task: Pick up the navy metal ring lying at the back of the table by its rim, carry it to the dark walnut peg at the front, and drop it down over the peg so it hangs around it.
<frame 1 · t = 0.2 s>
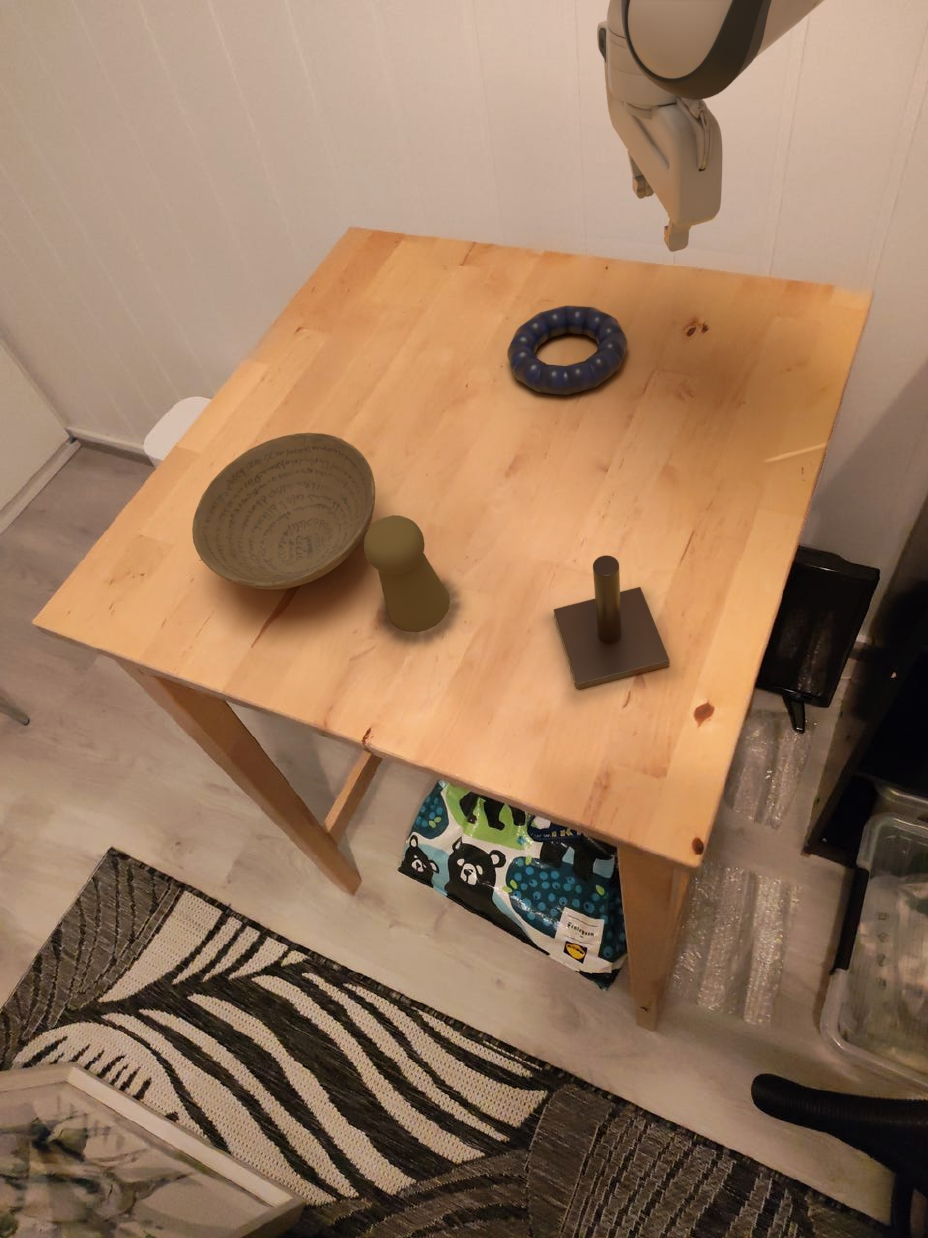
hand: (659, 218, 76), 16 cm above the table, tool pointing down, fingers open, 8 cm apart
ring: (566, 348, 90), point 1 cm above the table
bowl: (309, 553, 83), on the table
post: (609, 639, 71), on the table
olive game pawn: (418, 605, 77), on the table
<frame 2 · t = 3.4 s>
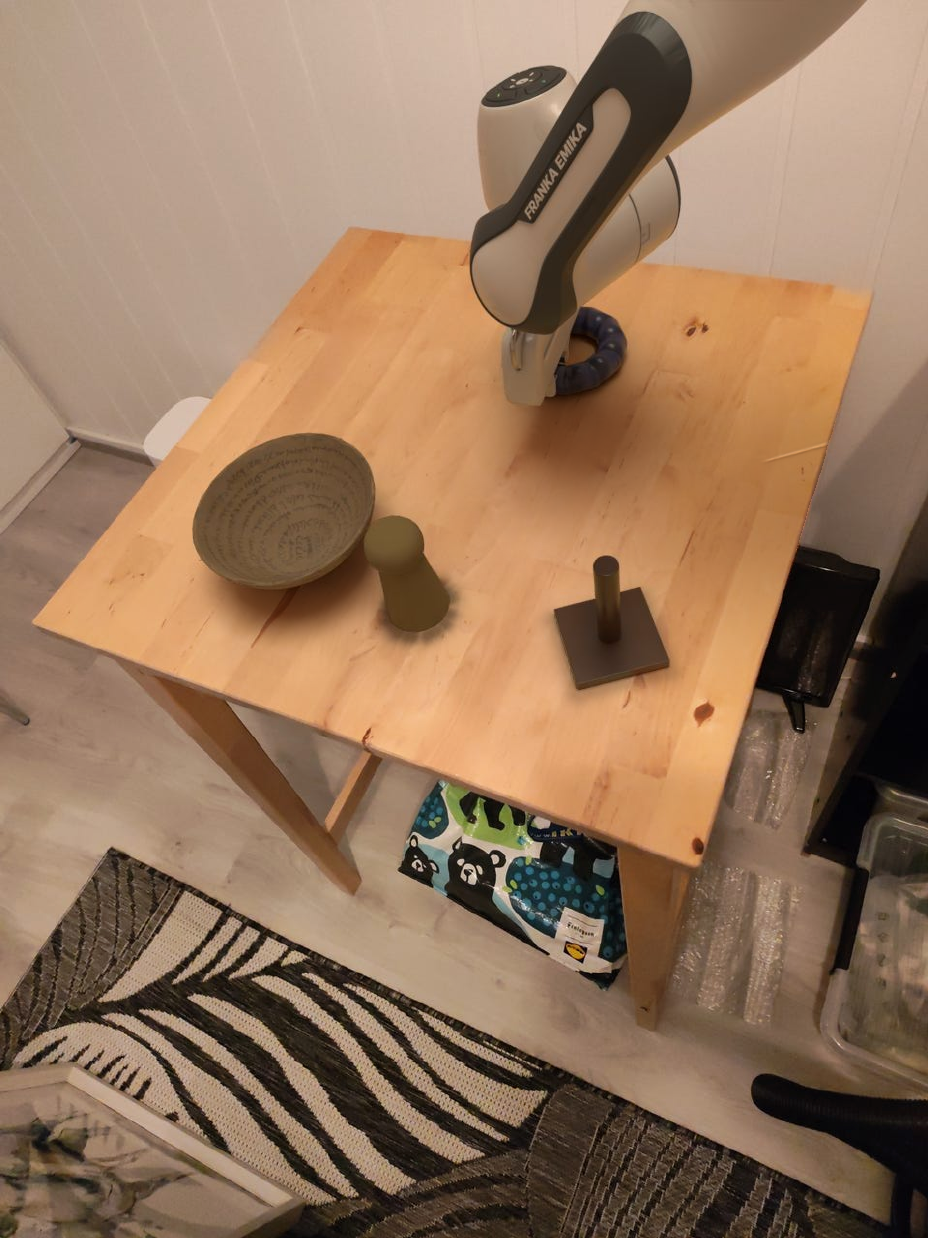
hand: (554, 377, 88), 2 cm above the table, tool pointing down, fingers closed on ring, 3 cm apart
ring: (566, 349, 90), point 2 cm above the table, touching gripper
everything else where it was.
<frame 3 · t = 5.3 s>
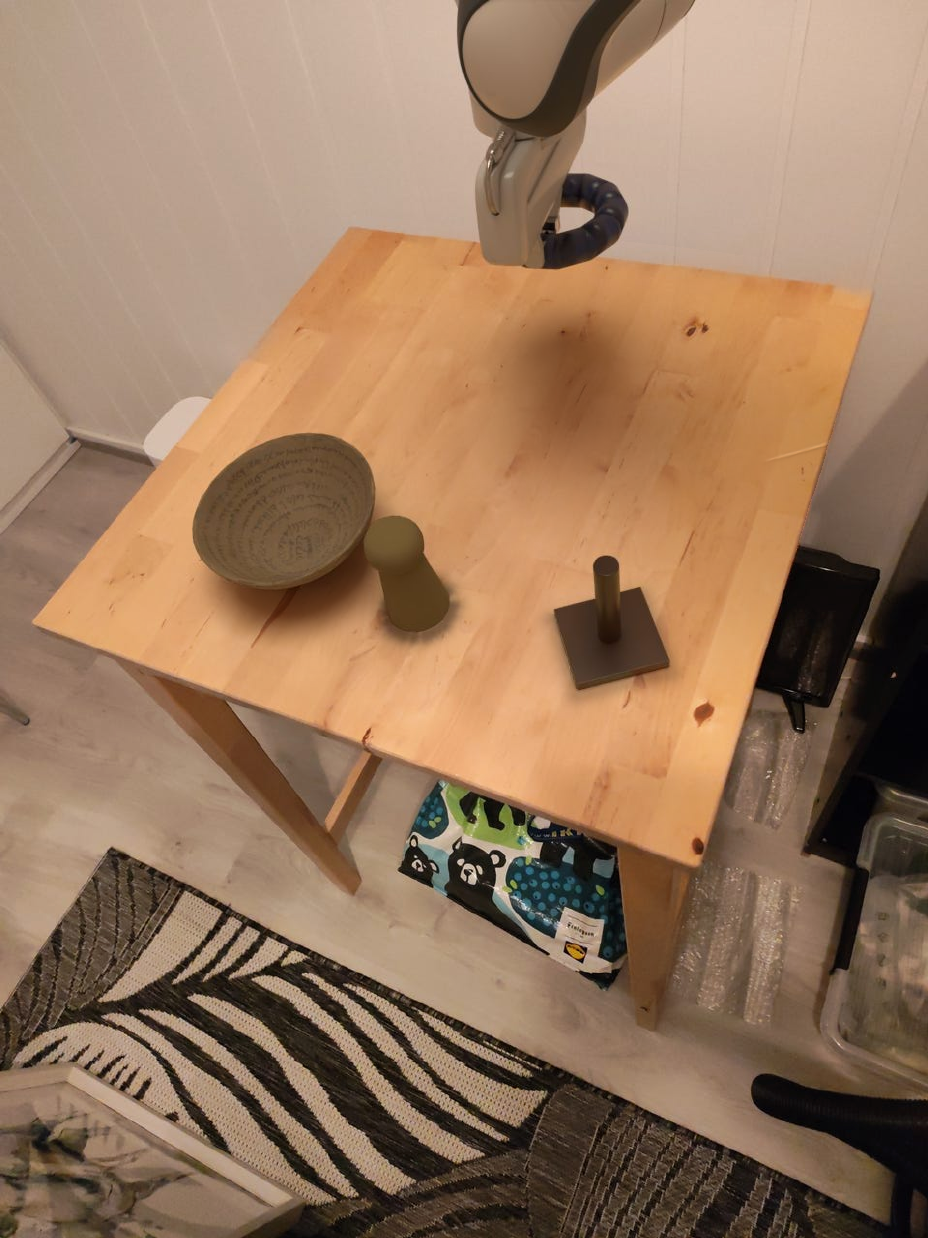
hand: (543, 248, 75), 17 cm above the table, tool pointing down, fingers closed on ring, 3 cm apart
ring: (557, 219, 78), point 17 cm above the table, touching gripper
everything else where it was.
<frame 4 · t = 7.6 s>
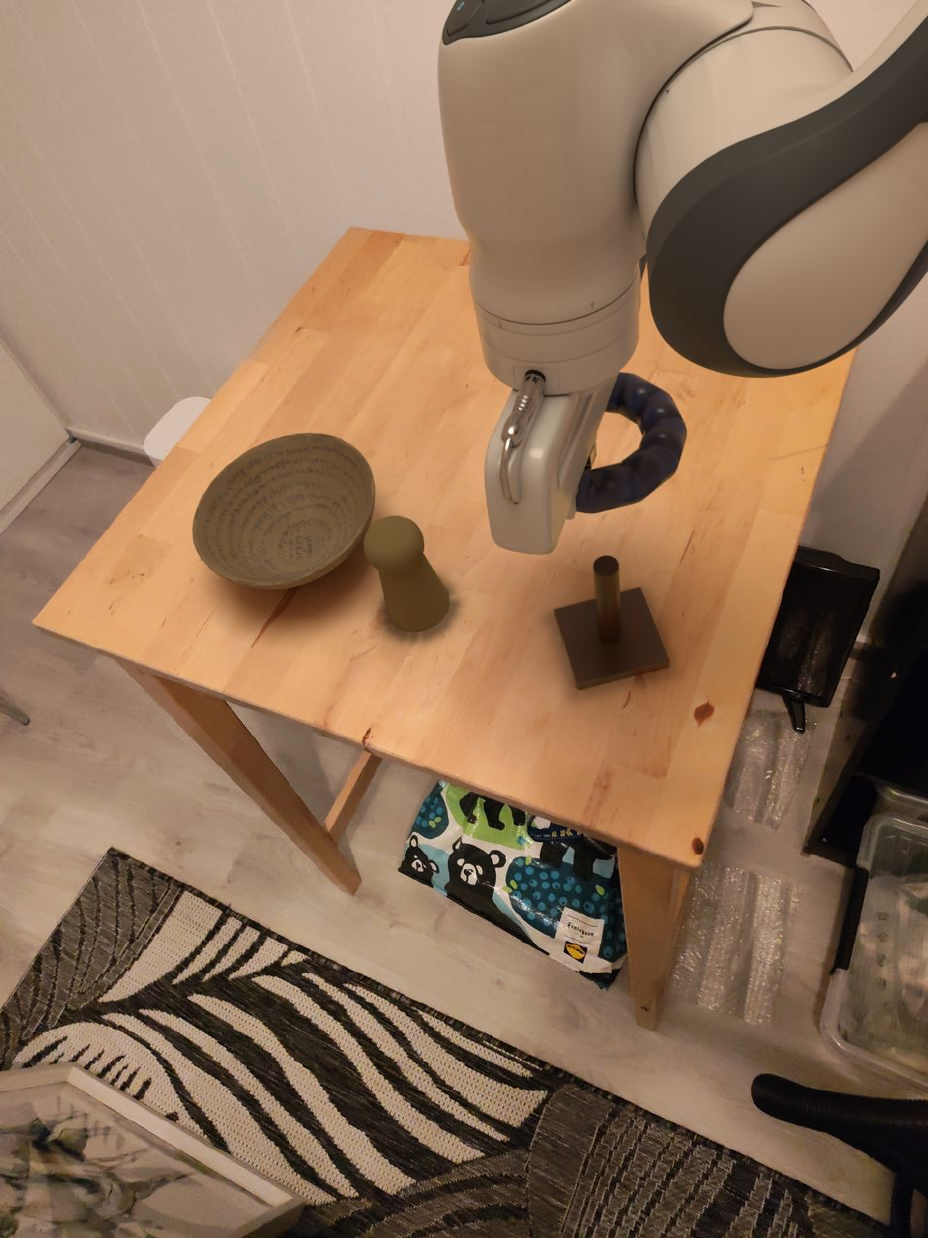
hand: (573, 486, 56), 19 cm above the table, tool pointing down, fingers closed on ring, 3 cm apart
ring: (591, 438, 58), point 19 cm above the table, touching gripper
everything else where it was.
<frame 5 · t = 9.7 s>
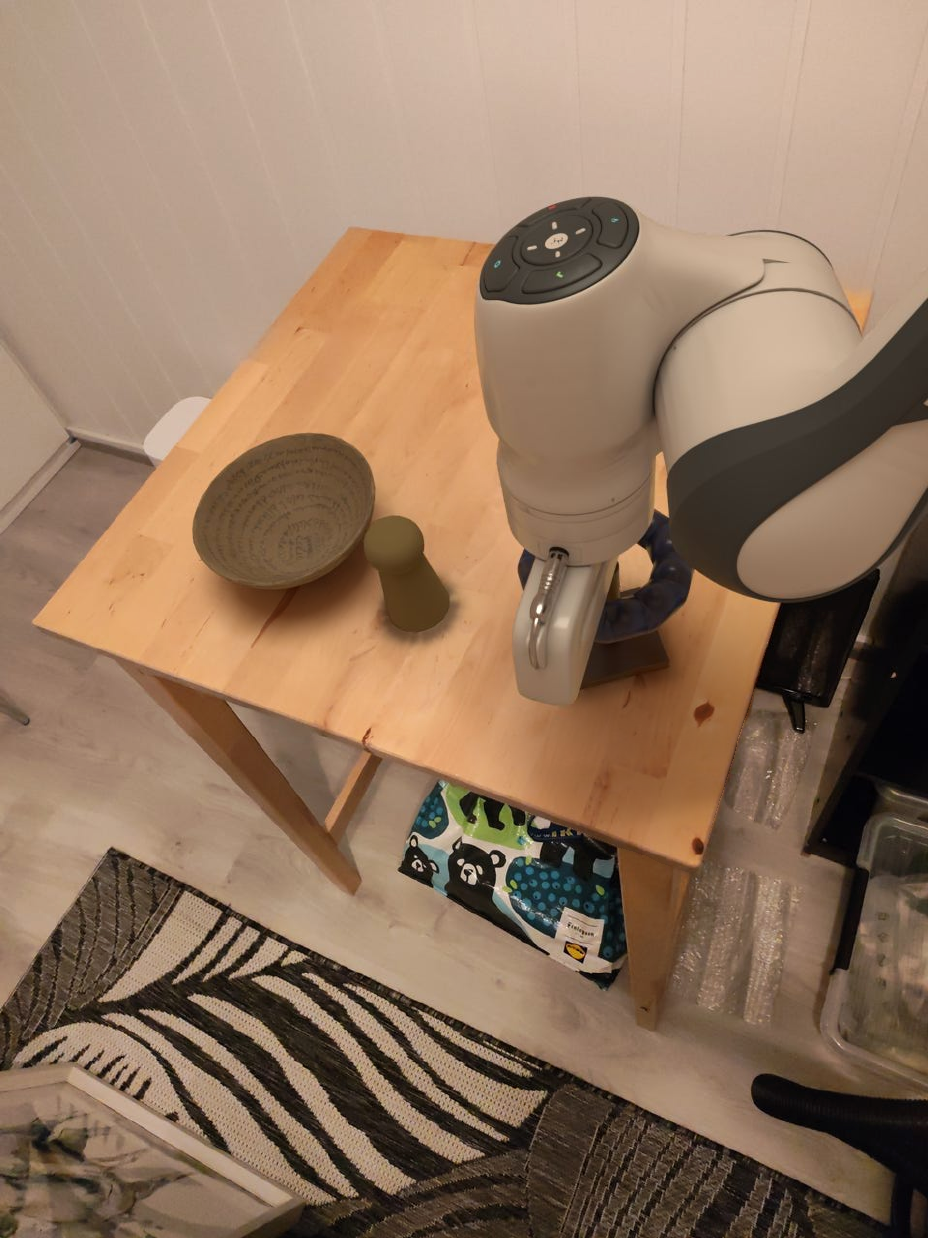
hand: (589, 617, 59), 11 cm above the table, tool pointing down, fingers closed on ring, 3 cm apart
ring: (604, 566, 61), point 11 cm above the table, touching gripper
everything else where it was.
when the fingers open (4 cm above the table, at t = 12.1 s): ring stays where it is, resting on post.
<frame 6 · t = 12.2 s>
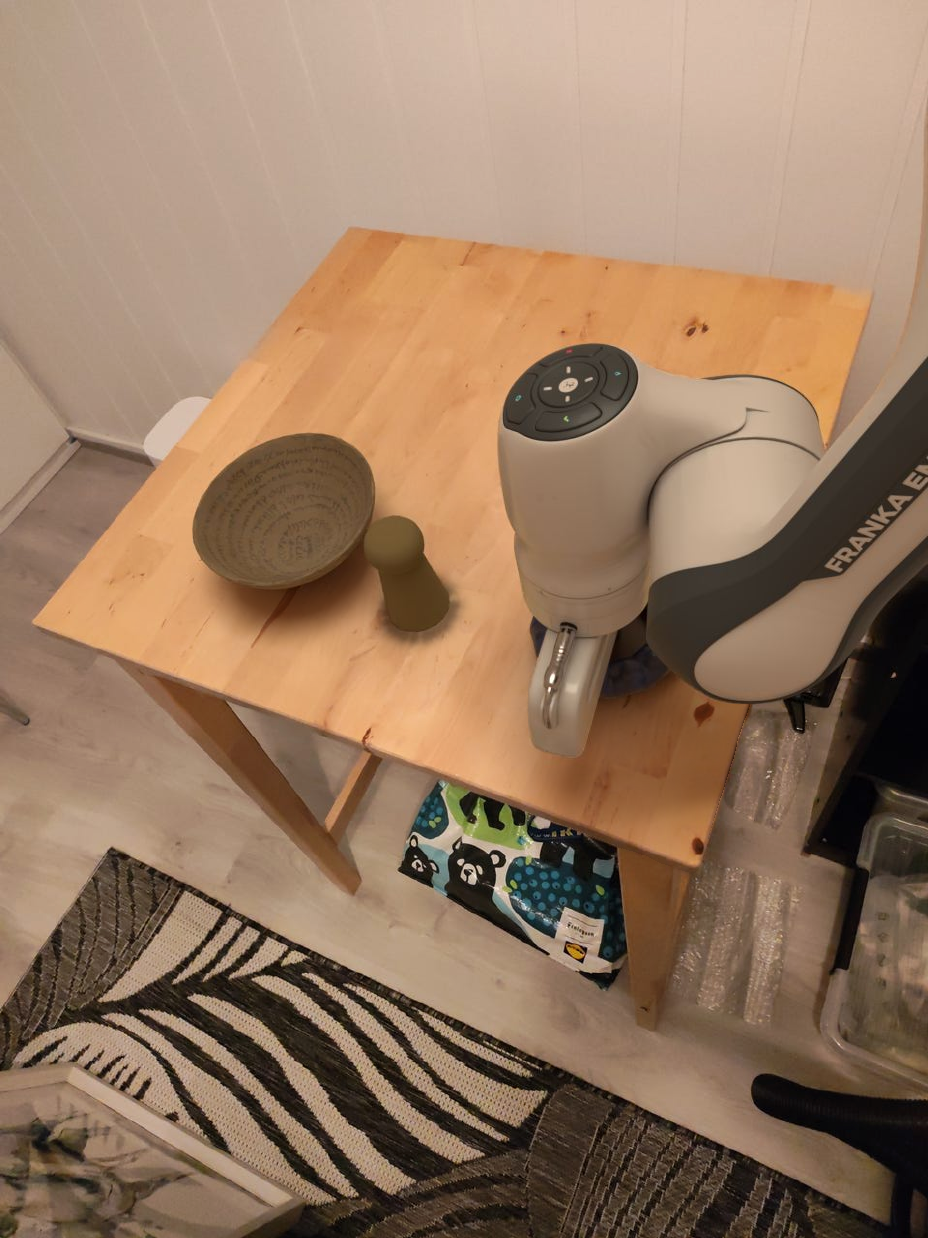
hand: (594, 670, 65), 4 cm above the table, tool pointing down, fingers open, 3 cm apart
ring: (608, 626, 68), point 2 cm above the table, touching post
everything else where it was.
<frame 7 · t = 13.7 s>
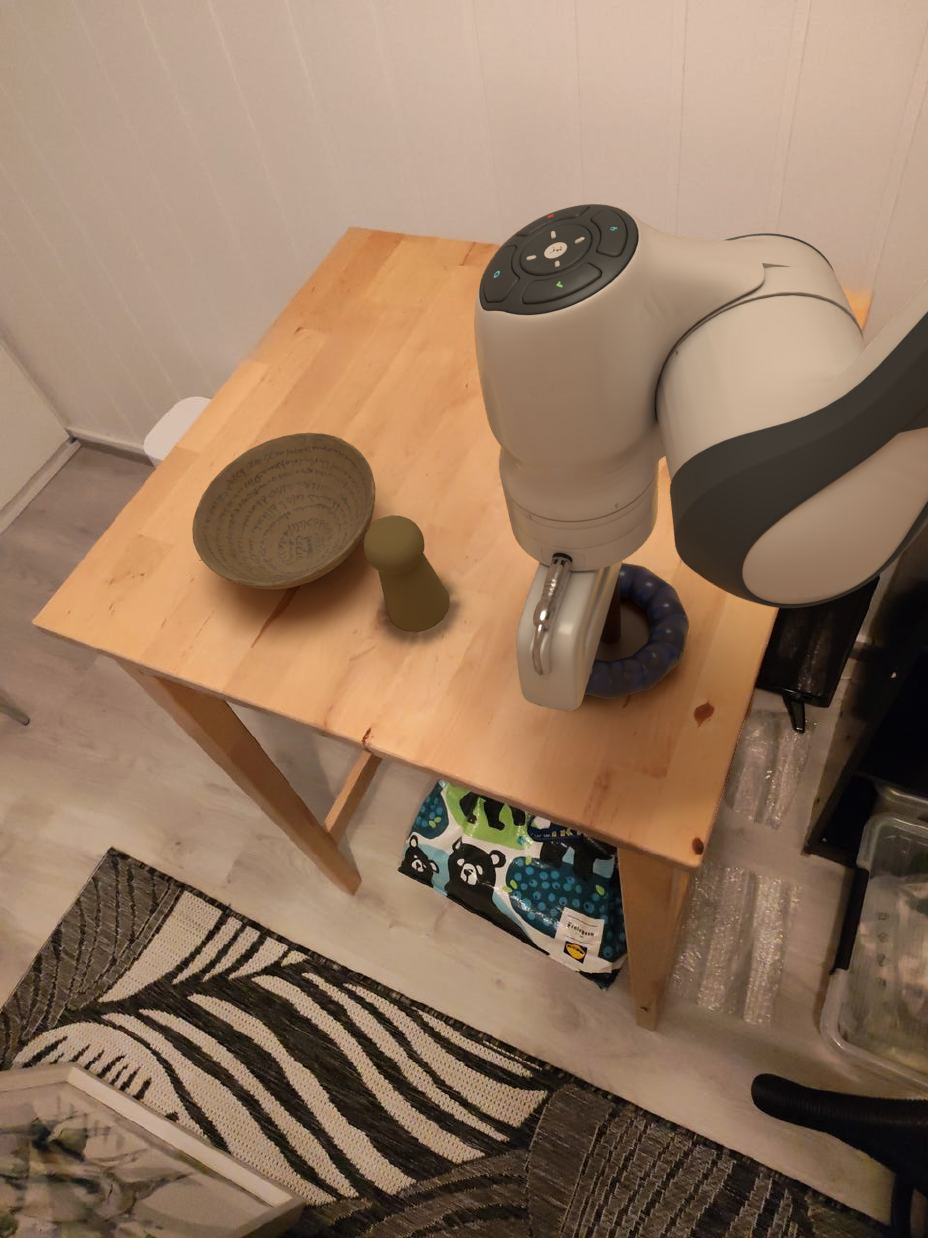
hand: (594, 620, 59), 11 cm above the table, tool pointing down, fingers open, 8 cm apart
nothing on the table moved.
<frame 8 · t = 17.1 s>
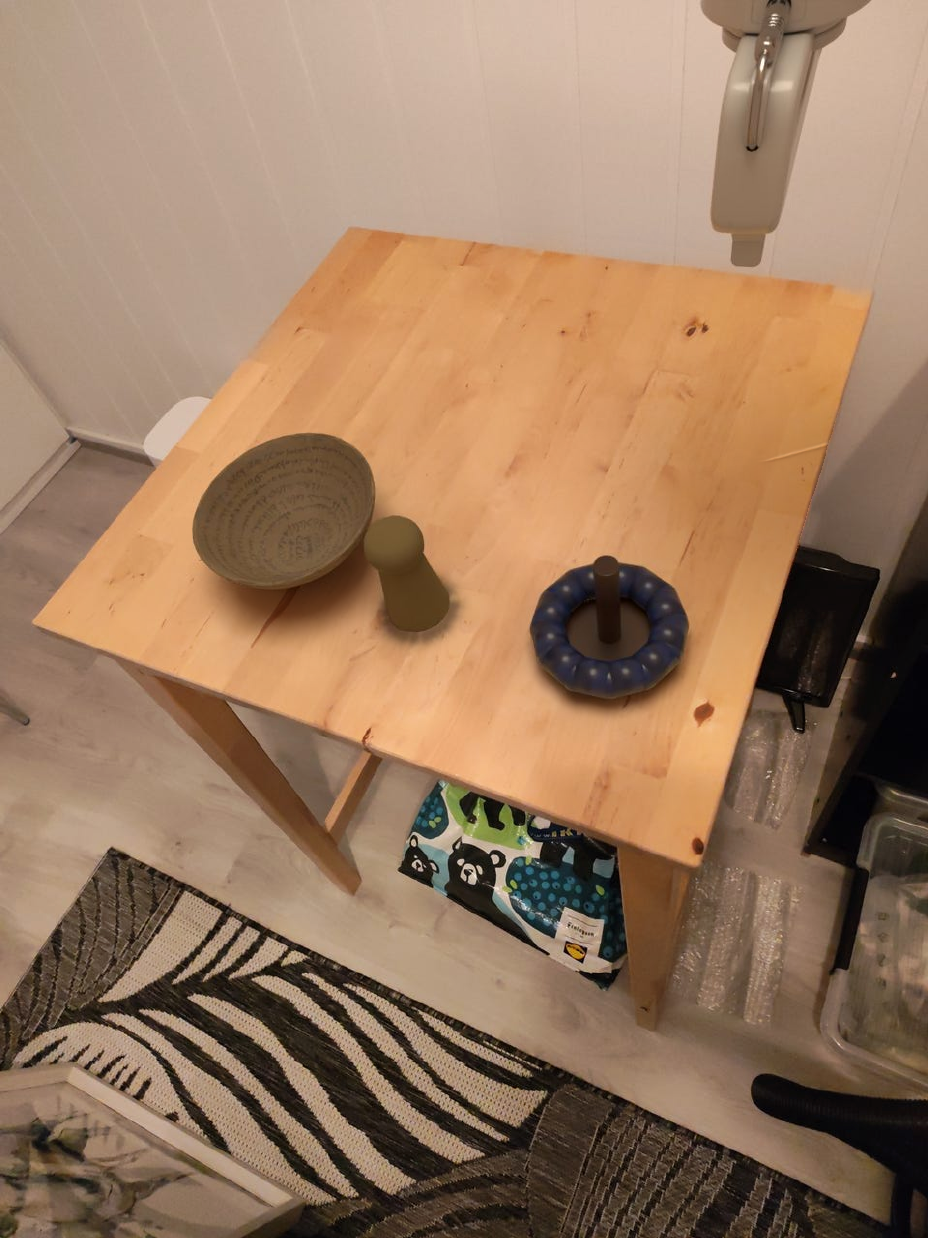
hand: (758, 215, 52), 29 cm above the table, tool pointing down, fingers open, 8 cm apart
nothing on the table moved.
at the end: ring 0.3 cm off-centre on the post, point 2.5 cm above the post's base; the gripper is holding nothing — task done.
